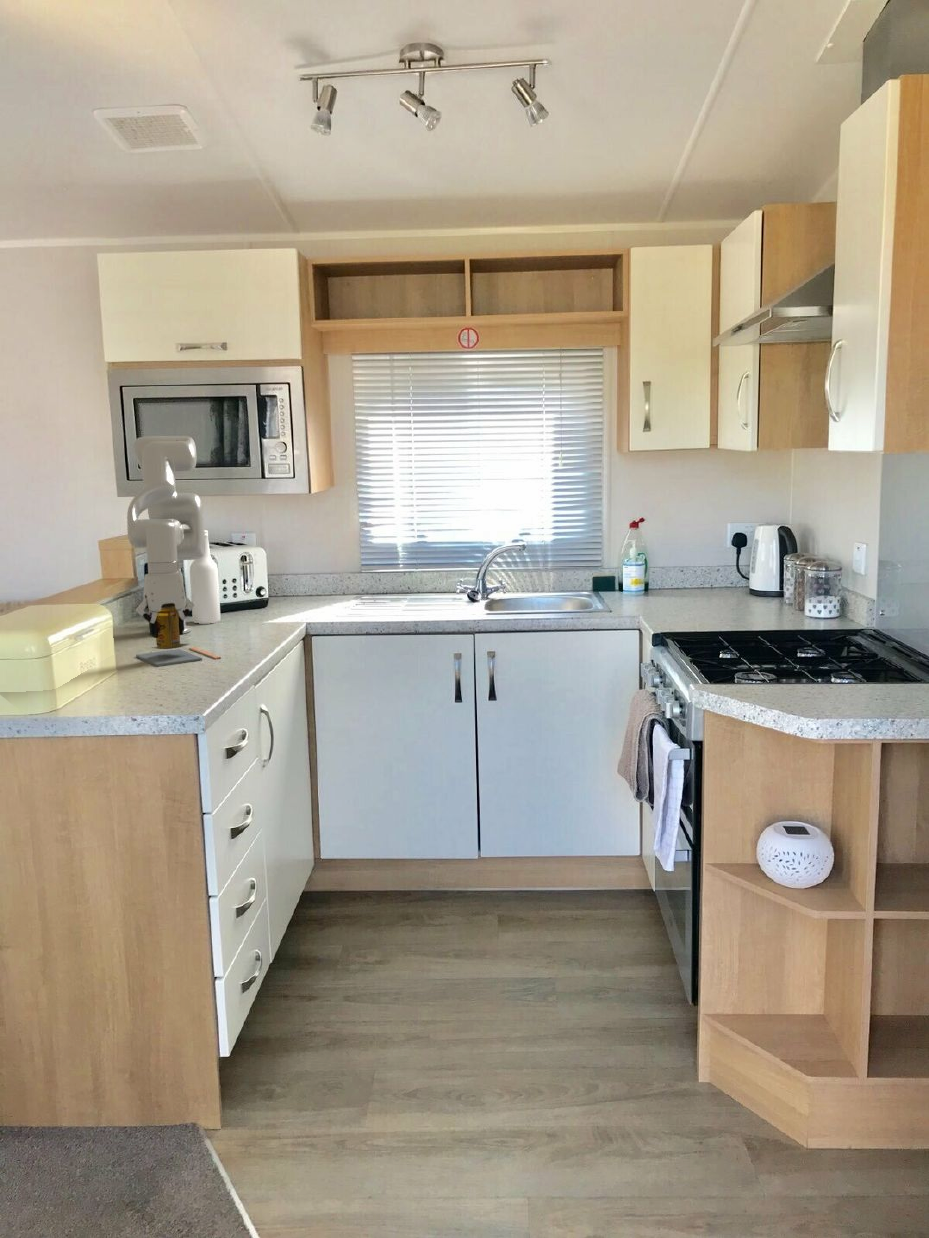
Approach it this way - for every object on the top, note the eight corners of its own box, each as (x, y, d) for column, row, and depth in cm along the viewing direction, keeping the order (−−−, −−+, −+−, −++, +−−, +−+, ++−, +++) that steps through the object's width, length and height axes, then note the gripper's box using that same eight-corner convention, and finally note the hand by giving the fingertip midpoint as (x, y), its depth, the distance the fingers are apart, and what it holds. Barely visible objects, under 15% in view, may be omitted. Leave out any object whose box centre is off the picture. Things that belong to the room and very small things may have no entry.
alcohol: (210, 625, 307) (205, 531, 302) (187, 623, 310) (181, 531, 305) (226, 620, 315) (221, 529, 310) (203, 619, 318) (197, 529, 313)
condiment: (149, 648, 253) (146, 603, 251) (171, 642, 261) (169, 599, 259) (170, 650, 250) (167, 605, 248) (192, 644, 258) (190, 600, 256)
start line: (189, 649, 268) (189, 647, 268) (194, 648, 269) (194, 647, 269) (215, 659, 254) (215, 657, 254) (220, 658, 255) (220, 656, 255)
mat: (136, 656, 258) (136, 654, 258) (179, 651, 265) (179, 649, 265) (157, 666, 246) (157, 664, 245) (202, 660, 253) (201, 658, 253)
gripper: (189, 565, 260) (193, 630, 263) (125, 569, 249) (130, 637, 252) (200, 567, 254) (203, 633, 257) (135, 572, 243) (139, 641, 246)
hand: (167, 635), depth 254 cm, fingers closed on condiment, 6 cm apart
